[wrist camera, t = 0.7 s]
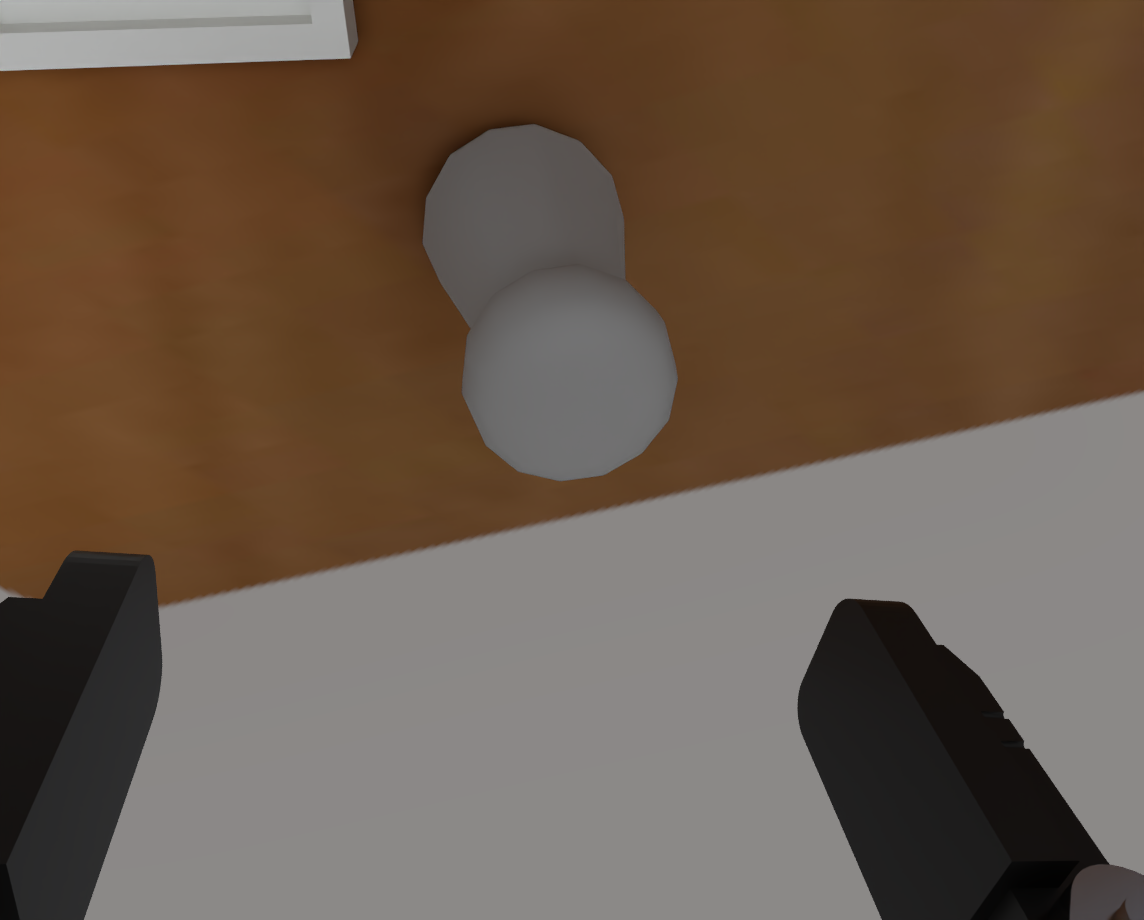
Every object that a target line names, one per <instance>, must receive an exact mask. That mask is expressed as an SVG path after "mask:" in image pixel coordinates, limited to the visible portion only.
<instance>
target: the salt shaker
mask: <svg viewBox="0 0 1144 920" xmlns="http://www.w3.org/2000/svg"><path fill="white" fill-rule="evenodd" d="M423 246H424V248H425V250H426V252H427V254H428V257H429V259H430V261H431V263H432V266H433V268H434V270H435V272H436V274H437V277H438V279H439V281H440V283H441V285H442V286H443V288H444V289H445V291H446V292H447V294H448V295H449V297H450V298H451V300H452V301H453V303H454V304H455V306H456V307H457V309H458V310H459V312H460V313H461V315H462V316H463V318H464V319H465V321H466V322H467V324H468V325H469V327H470V328H471V330H470V331H469V333H468V335H467V341H466V351H465V361H464V370H463V382H462V395H463V397H464V399H465V401H466V403H467V406H468V408H469V410H470V412H471V414H472V416H473V419H474V421H475V423H476V425H477V427H478V429H479V432H480V434H481V436H482V438H483V440H484V442H485V445H486V446H487V447H488V448H490V449H491V450H492V451H493V452H495V453H496V454H497V455H498V456H500V457H501V458H502V459H503V460H505V461H506V462H507V463H508V464H509V465H511V466H512V467H513V468H514V469H516V470H517V471H518V472H523V473H527V474H531V475H535V476H540V477H544V478H548V479H553V480H557V481H565V480H573V479H580V478H588V477H595V476H602V475H605V474H607V473H609V472H610V471H612V470H614V469H616V468H617V467H619V466H621V465H623V464H624V463H626V462H628V461H629V460H631V459H633V458H635V457H636V456H638V455H640V454H642V453H643V451H644V450H645V449H646V448H647V446H648V445H649V444H650V443H651V441H652V440H653V439H654V438H655V436H656V435H657V434H658V433H659V431H660V430H661V429H662V428H663V427H664V425H665V424H666V423H667V422H668V420H669V417H670V412H671V408H672V403H673V399H674V394H675V389H676V385H677V380H678V378H677V371H676V364H675V360H674V356H673V353H672V349H671V345H670V341H669V337H668V333H667V330H666V326H665V322H664V321H663V319H662V318H661V316H660V315H659V314H658V312H657V311H656V310H655V309H654V308H653V307H652V306H651V305H650V304H649V303H648V302H647V301H646V300H645V299H644V298H643V297H642V296H641V295H640V294H639V293H638V292H637V291H636V290H635V289H634V288H633V287H632V286H631V285H630V284H629V283H628V282H627V281H626V280H625V244H624V217H623V213H622V210H621V206H620V203H619V199H618V195H617V192H616V188H615V185H614V181H613V178H612V175H611V174H610V173H609V172H608V171H607V170H606V169H605V168H604V166H603V165H602V164H601V163H600V162H599V161H598V160H597V159H596V158H595V157H594V156H593V155H592V153H591V152H590V151H589V150H588V149H587V148H586V147H585V146H584V145H583V144H582V143H581V142H580V141H578V140H576V139H573V138H571V137H568V136H566V135H563V134H560V133H558V132H555V131H552V130H550V129H547V128H544V127H542V126H539V125H536V124H529V125H521V126H513V127H504V128H496V129H489V130H488V131H486V132H485V133H483V134H482V135H480V136H478V137H477V138H475V139H474V140H472V141H471V142H469V143H467V144H466V145H464V146H463V147H461V148H460V149H458V150H457V151H455V152H453V153H452V154H450V156H449V157H448V159H447V161H446V163H445V165H444V166H443V168H442V170H441V172H440V174H439V176H438V177H437V179H436V181H435V183H434V185H433V186H432V188H431V190H430V192H429V194H428V195H427V197H426V206H425V219H424V231H423Z"/></svg>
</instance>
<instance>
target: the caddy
mask: <svg viewBox="0 0 1144 920" xmlns="http://www.w3.org/2000/svg"><path fill="white" fill-rule="evenodd" d="M357 43H358V36H357V28H356V20H355V13H354V5H353V0H0V71H10V70H38V69H66V68H94V67H122V66H150V65H178V64H206V63H234V62H262V61H290V60H318V59H346V58H351V57H352V54H353V52H354V50H355V48H356V45H357Z"/></svg>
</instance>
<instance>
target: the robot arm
mask: <svg viewBox="0 0 1144 920" xmlns="http://www.w3.org/2000/svg"><path fill="white" fill-rule="evenodd" d="M161 676H162V650H161V637H160V624H159V612H158V599H157V586H156V574H155V566H154V562H153V559H152V557H151V556H150V555H140V554H123V553H107V552H90V551H73V552H71V553H70V554H69V555H68V556H67V557H66V559H65V560H64V562H63V564H62V565H61V567H60V569H59V571H58V572H57V574H56V576H55V578H54V580H53V581H52V583H51V585H50V587H49V589H48V590H47V592H46V594H45V596H44V597H43V599H36V598H16V597H8V598H7V599H6V600H4V601H3V602H1V603H0V920H84V917H85V915H86V911H87V909H88V906H89V903H90V900H91V897H92V894H93V891H94V888H95V886H96V882H97V880H98V877H99V874H100V871H101V868H102V865H103V862H104V859H105V857H106V854H107V851H108V848H109V845H110V842H111V839H112V836H113V833H114V830H115V828H116V825H117V822H118V819H119V816H120V813H121V810H122V807H123V804H124V802H125V798H126V796H127V793H128V789H129V787H130V784H131V781H132V778H133V775H134V773H135V769H136V767H137V764H138V761H139V758H140V755H141V752H142V749H143V746H144V743H145V741H146V738H147V735H148V732H149V729H150V726H151V723H152V720H153V717H154V714H155V711H156V707H157V702H158V698H159V692H160V685H161ZM1003 713H1004V711H1003V710H1002V709H1001V707H1000V706H999V704H998V703H997V701H996V700H995V698H994V697H993V696H992V694H991V693H990V691H989V690H988V688H987V687H986V685H985V684H984V682H983V681H982V680H981V678H980V677H979V676H978V675H977V674H976V673H975V672H974V671H973V670H971V669H970V668H969V667H968V666H967V665H966V664H965V663H963V662H962V661H961V660H960V659H959V658H958V657H956V656H955V655H954V654H953V653H952V652H951V651H950V650H949V649H947V648H946V647H945V646H944V645H936V643H935V642H934V640H933V639H932V637H931V636H930V634H929V632H928V631H927V629H926V628H925V627H924V625H923V623H922V622H921V620H920V619H919V617H918V616H917V614H916V613H915V612H914V610H913V609H912V608H911V607H910V606H909V605H907V604H905V603H903V602H895V601H879V600H878V601H877V600H862V599H845V600H843V601H841V602H840V603H839V604H838V605H837V606H836V607H835V609H834V611H833V613H832V615H831V617H830V620H829V622H828V624H827V626H826V629H825V631H824V633H823V635H822V638H821V640H820V642H819V645H818V647H817V649H816V651H815V654H814V656H813V658H812V660H811V663H810V665H809V667H808V669H807V672H806V674H805V677H804V679H803V681H802V683H801V686H800V690H799V696H798V719H799V725H800V729H801V733H802V735H803V738H804V740H805V743H806V745H807V747H808V749H809V752H810V754H811V756H812V759H813V761H814V763H815V766H816V768H817V770H818V773H819V775H820V777H821V780H822V782H823V784H824V787H825V789H826V791H827V794H828V796H829V798H830V801H831V803H832V805H833V807H834V810H835V812H836V814H837V817H838V819H839V821H840V824H841V826H842V828H843V830H844V833H845V835H846V838H847V840H848V842H849V845H850V847H851V849H852V851H853V854H854V856H855V858H856V861H857V863H858V865H859V868H860V870H861V872H862V875H863V877H864V879H865V881H866V884H867V886H868V888H869V891H870V893H871V895H872V898H873V900H874V902H875V905H876V907H877V909H878V911H879V914H880V916H881V918H882V920H1144V875H1142V874H1139V873H1137V872H1135V871H1132V870H1129V869H1126V868H1123V867H1119V866H1114V865H1110V864H1109V863H1108V862H1107V860H1106V859H1105V858H1104V856H1103V855H1102V853H1101V852H1100V850H1099V849H1098V847H1097V846H1096V845H1095V843H1094V842H1093V840H1092V839H1091V837H1090V836H1089V835H1088V833H1087V831H1086V830H1085V829H1084V827H1083V826H1082V824H1081V823H1080V821H1079V820H1078V819H1077V817H1076V816H1075V814H1074V813H1073V811H1072V810H1071V808H1070V807H1069V805H1068V804H1067V803H1066V801H1065V800H1064V798H1063V797H1062V795H1061V794H1060V792H1059V791H1058V790H1057V788H1056V787H1055V785H1054V784H1053V782H1052V781H1051V779H1050V778H1049V777H1048V775H1047V774H1046V772H1045V771H1044V770H1043V768H1042V767H1041V765H1040V764H1039V762H1038V761H1037V759H1036V758H1035V757H1034V755H1033V753H1032V752H1031V751H1030V749H1025V748H1024V740H1023V739H1022V737H1021V736H1020V735H1019V733H1018V732H1017V730H1016V729H1015V727H1014V726H1013V724H1012V723H1011V721H1010V720H1009V719H1004V716H1003Z"/></svg>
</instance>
